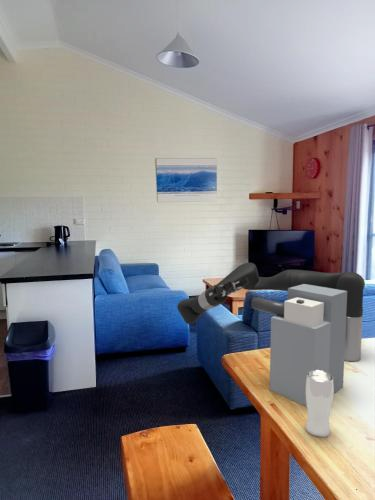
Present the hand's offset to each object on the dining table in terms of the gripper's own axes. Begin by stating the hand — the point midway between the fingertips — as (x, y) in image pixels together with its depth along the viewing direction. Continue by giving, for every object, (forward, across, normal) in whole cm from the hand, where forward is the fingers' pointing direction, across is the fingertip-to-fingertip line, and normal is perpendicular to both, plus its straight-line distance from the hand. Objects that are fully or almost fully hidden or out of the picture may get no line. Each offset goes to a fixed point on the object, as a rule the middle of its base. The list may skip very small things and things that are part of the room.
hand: (239, 281), depth 126 cm
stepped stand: (+5, -4, -40) cm, 41 cm away
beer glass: (+16, +13, -47) cm, 52 cm away
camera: (+12, +1, -17) cm, 21 cm away
